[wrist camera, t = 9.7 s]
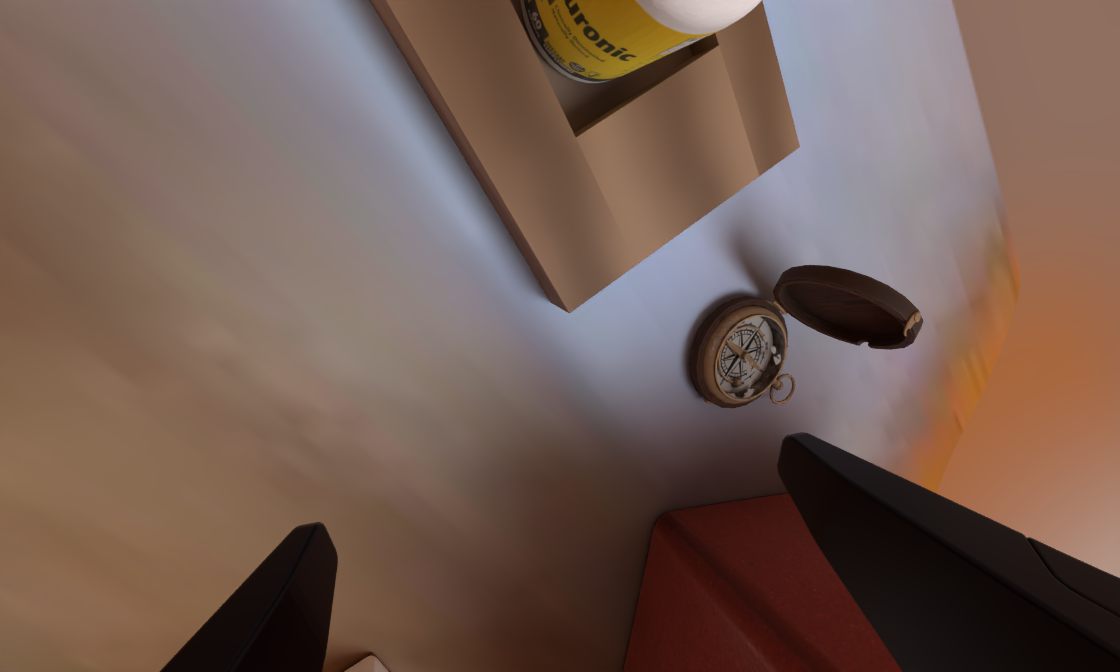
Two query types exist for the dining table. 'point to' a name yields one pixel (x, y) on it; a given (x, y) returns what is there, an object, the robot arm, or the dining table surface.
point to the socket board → (596, 134)
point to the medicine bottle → (368, 666)
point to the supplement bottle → (621, 31)
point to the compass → (761, 335)
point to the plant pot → (746, 597)
